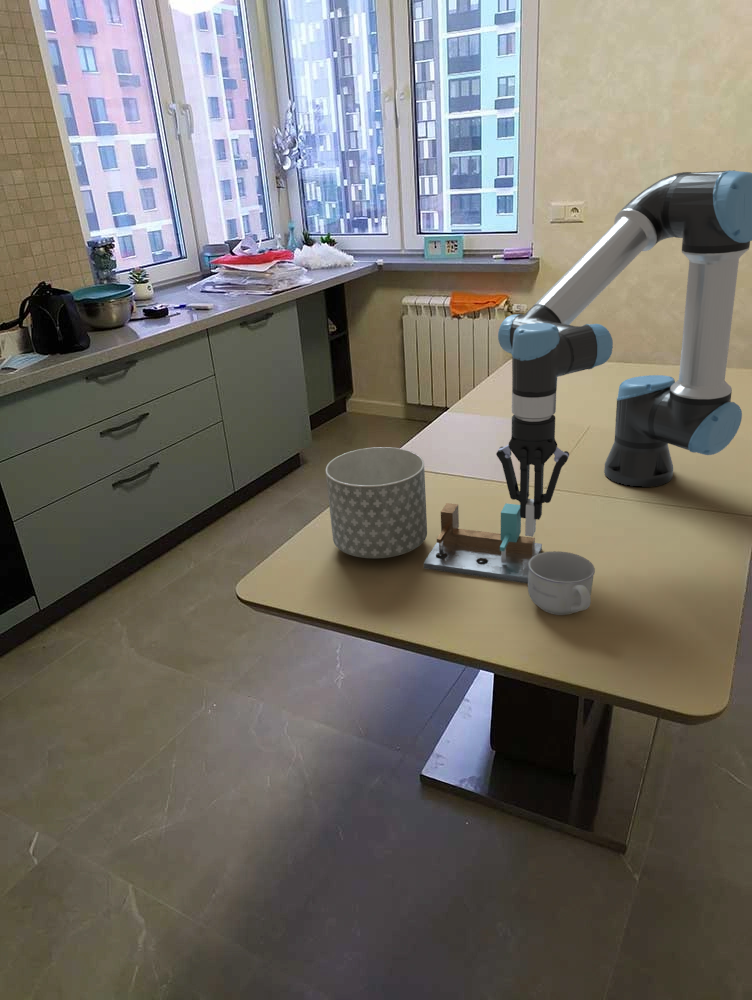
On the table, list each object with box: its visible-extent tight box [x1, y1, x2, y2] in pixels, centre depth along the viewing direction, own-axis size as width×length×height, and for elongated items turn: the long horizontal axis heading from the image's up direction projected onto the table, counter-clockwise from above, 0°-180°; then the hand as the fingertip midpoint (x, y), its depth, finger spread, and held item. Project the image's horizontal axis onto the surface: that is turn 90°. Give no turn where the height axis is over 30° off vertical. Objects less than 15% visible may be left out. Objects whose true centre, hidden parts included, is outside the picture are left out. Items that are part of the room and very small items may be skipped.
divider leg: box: [500, 502, 522, 563], centre depth 135 cm, size 3×9×8 cm, turn 158°
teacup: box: [527, 550, 596, 616], centre depth 121 cm, size 14×11×8 cm
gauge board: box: [423, 502, 543, 584], centre depth 137 cm, size 20×13×9 cm, turn 68°
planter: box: [325, 446, 428, 559], centre depth 142 cm, size 19×19×18 cm
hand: (530, 532), depth 136 cm, fingers closed
